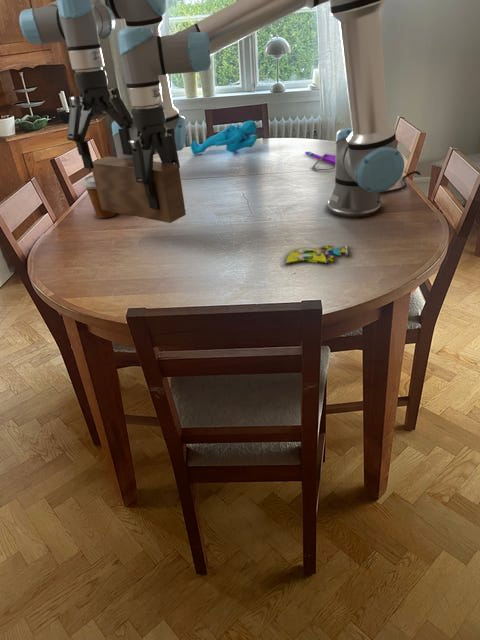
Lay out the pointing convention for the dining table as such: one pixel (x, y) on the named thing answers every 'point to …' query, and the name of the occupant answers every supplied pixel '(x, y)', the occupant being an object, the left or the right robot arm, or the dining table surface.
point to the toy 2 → (315, 255)
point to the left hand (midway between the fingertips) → (109, 161)
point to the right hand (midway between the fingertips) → (163, 203)
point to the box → (138, 189)
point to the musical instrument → (325, 157)
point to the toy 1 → (230, 138)
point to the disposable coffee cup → (96, 198)
